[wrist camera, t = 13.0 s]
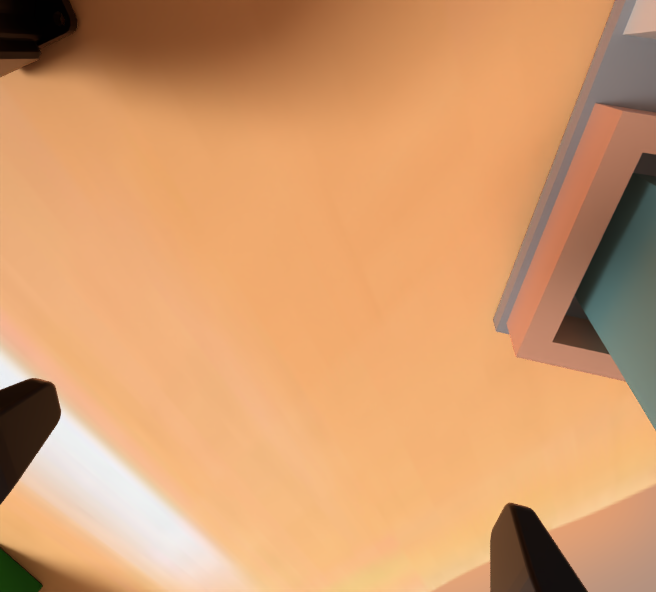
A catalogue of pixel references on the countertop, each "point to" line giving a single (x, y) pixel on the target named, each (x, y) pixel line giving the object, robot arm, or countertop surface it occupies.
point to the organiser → (585, 197)
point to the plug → (627, 289)
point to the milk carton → (15, 576)
